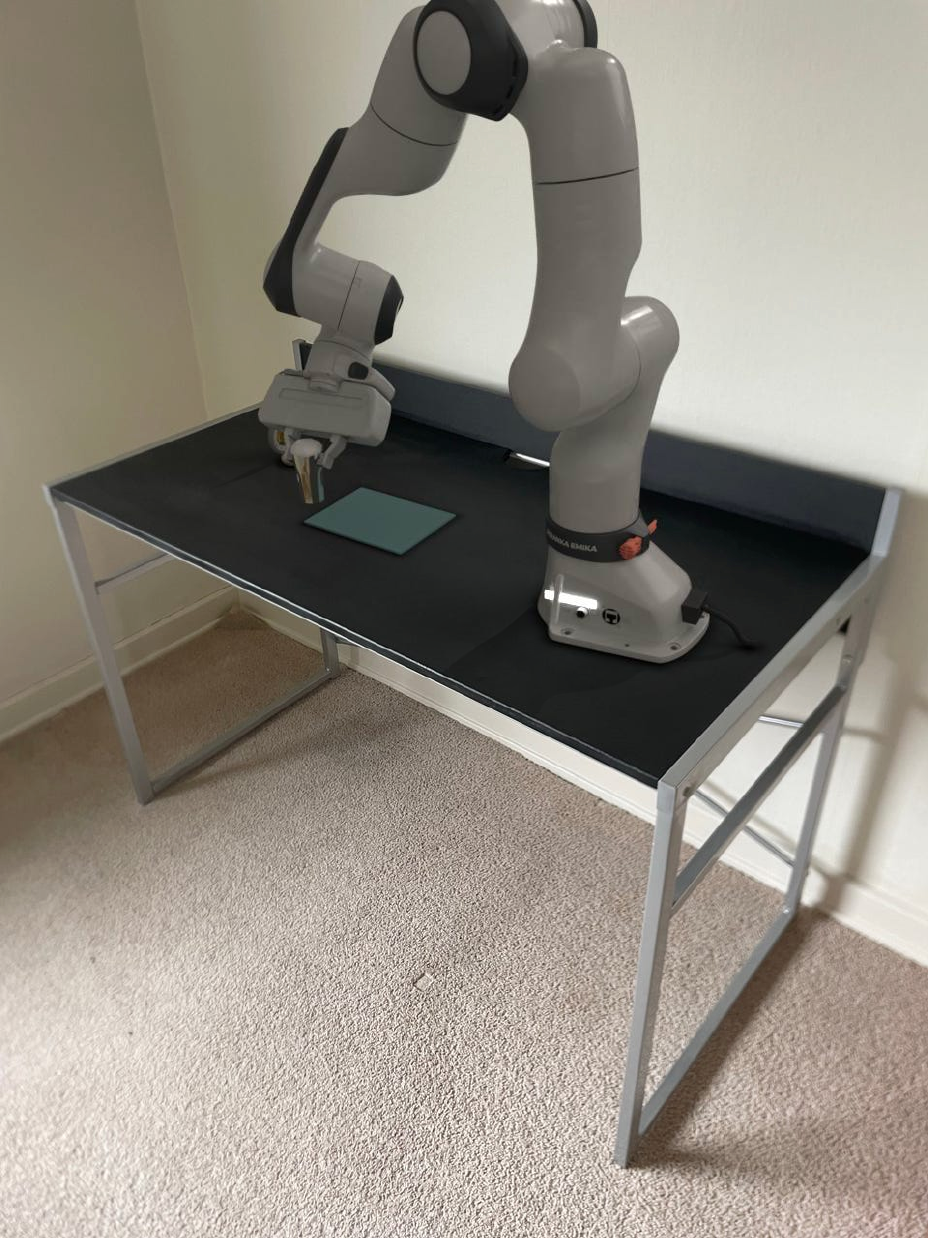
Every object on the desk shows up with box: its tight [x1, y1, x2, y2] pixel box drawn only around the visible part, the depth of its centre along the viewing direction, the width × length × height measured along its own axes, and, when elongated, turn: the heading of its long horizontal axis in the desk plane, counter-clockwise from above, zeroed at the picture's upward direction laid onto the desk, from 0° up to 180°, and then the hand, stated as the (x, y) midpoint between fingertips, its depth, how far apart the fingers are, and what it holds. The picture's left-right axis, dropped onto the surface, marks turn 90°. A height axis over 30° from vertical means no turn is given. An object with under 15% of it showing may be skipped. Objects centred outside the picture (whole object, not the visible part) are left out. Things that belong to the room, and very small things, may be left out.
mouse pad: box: [303, 486, 457, 556], centre depth 147 cm, size 20×14×1 cm
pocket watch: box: [267, 428, 294, 467], centre depth 166 cm, size 8×8×10 cm
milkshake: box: [290, 437, 326, 505], centre depth 132 cm, size 4×5×10 cm
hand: (306, 464), depth 131 cm, fingers closed on milkshake, 4 cm apart
